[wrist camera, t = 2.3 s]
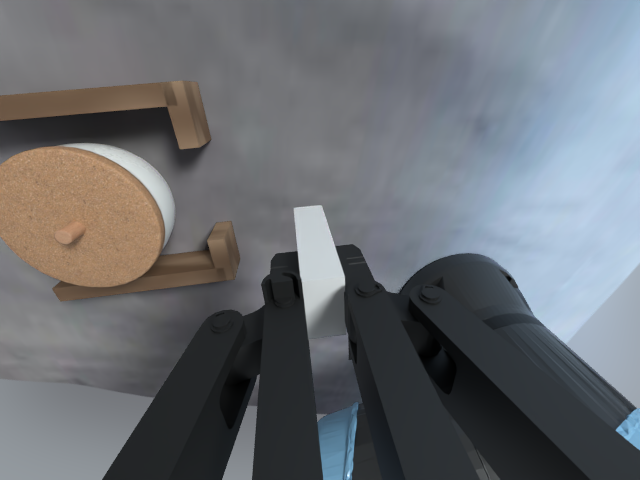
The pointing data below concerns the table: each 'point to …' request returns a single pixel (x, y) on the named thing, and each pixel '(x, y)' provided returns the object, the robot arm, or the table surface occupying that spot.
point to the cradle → (189, 134)
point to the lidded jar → (85, 212)
